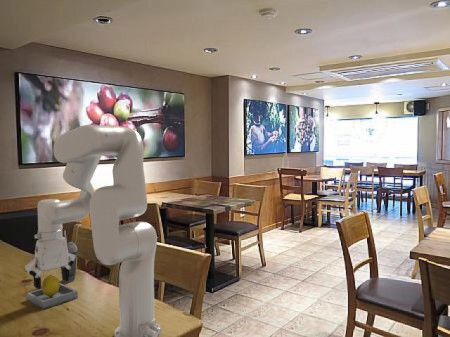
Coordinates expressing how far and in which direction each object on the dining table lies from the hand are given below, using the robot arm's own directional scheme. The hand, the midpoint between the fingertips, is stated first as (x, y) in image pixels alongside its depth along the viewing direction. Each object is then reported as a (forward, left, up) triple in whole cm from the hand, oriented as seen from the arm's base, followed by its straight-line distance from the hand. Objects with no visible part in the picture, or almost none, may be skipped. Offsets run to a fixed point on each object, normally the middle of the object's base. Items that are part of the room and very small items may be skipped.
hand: (52, 284), depth 131 cm
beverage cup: (+13, -13, -6) cm, 19 cm away
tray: (0, 0, -5) cm, 5 cm away
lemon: (0, 0, -5) cm, 5 cm away
